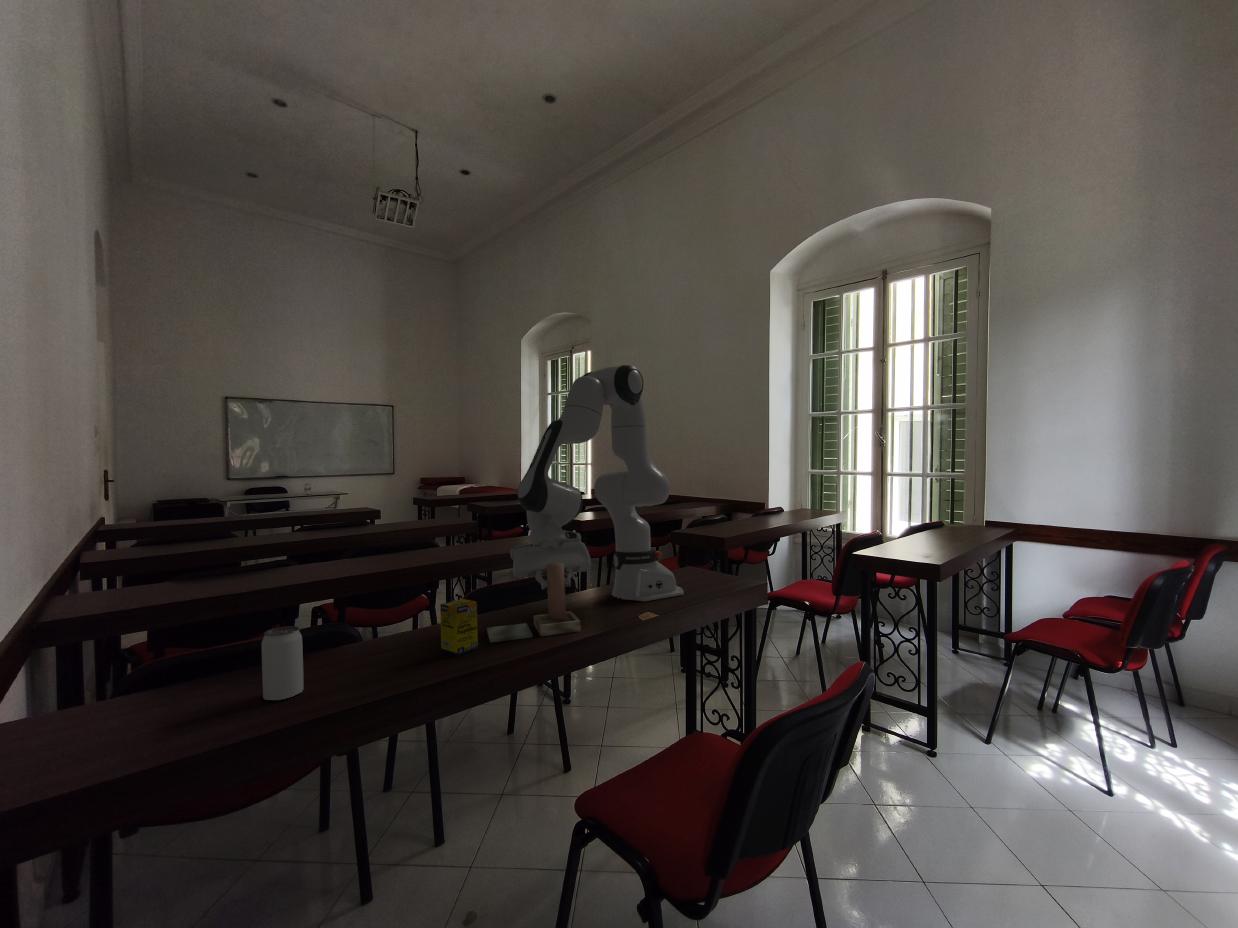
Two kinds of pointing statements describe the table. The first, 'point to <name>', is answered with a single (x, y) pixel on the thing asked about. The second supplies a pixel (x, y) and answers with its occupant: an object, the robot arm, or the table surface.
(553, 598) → the terracotta peg
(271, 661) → the can
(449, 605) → the supplement box
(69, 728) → the table surface
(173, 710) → the table surface
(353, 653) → the table surface
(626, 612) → the table surface
